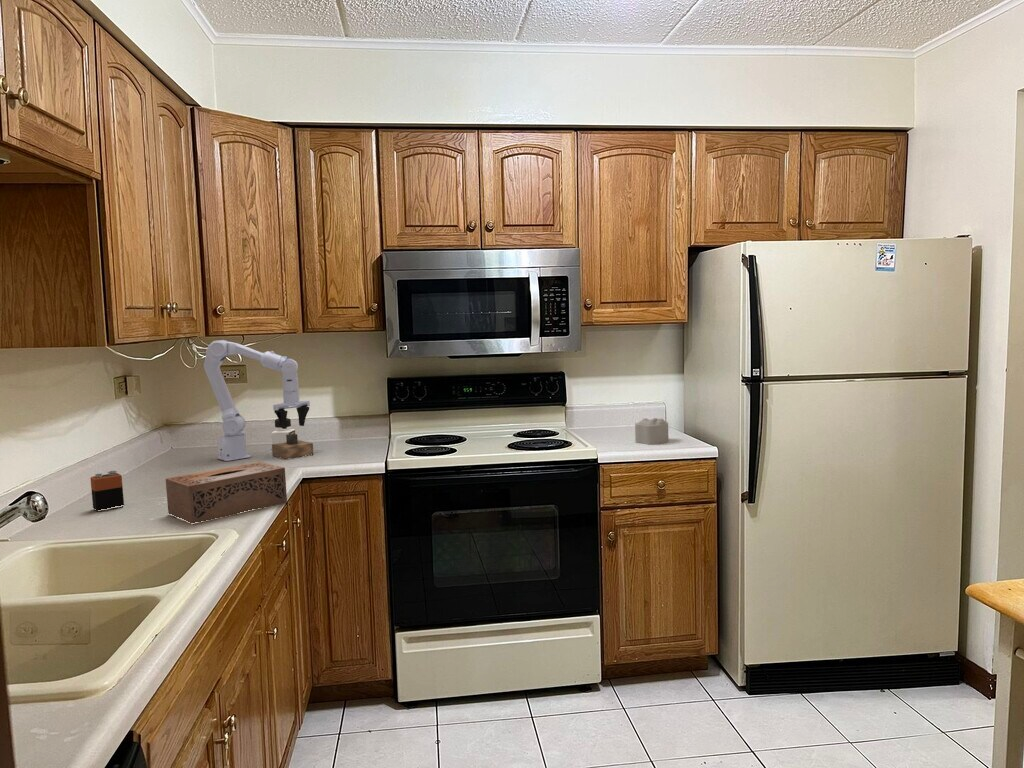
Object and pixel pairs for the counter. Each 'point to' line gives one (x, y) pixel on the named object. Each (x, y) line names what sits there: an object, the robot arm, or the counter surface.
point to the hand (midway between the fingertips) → (293, 427)
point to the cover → (292, 448)
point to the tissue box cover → (226, 491)
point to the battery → (107, 490)
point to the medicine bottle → (281, 432)
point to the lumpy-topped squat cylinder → (651, 431)
